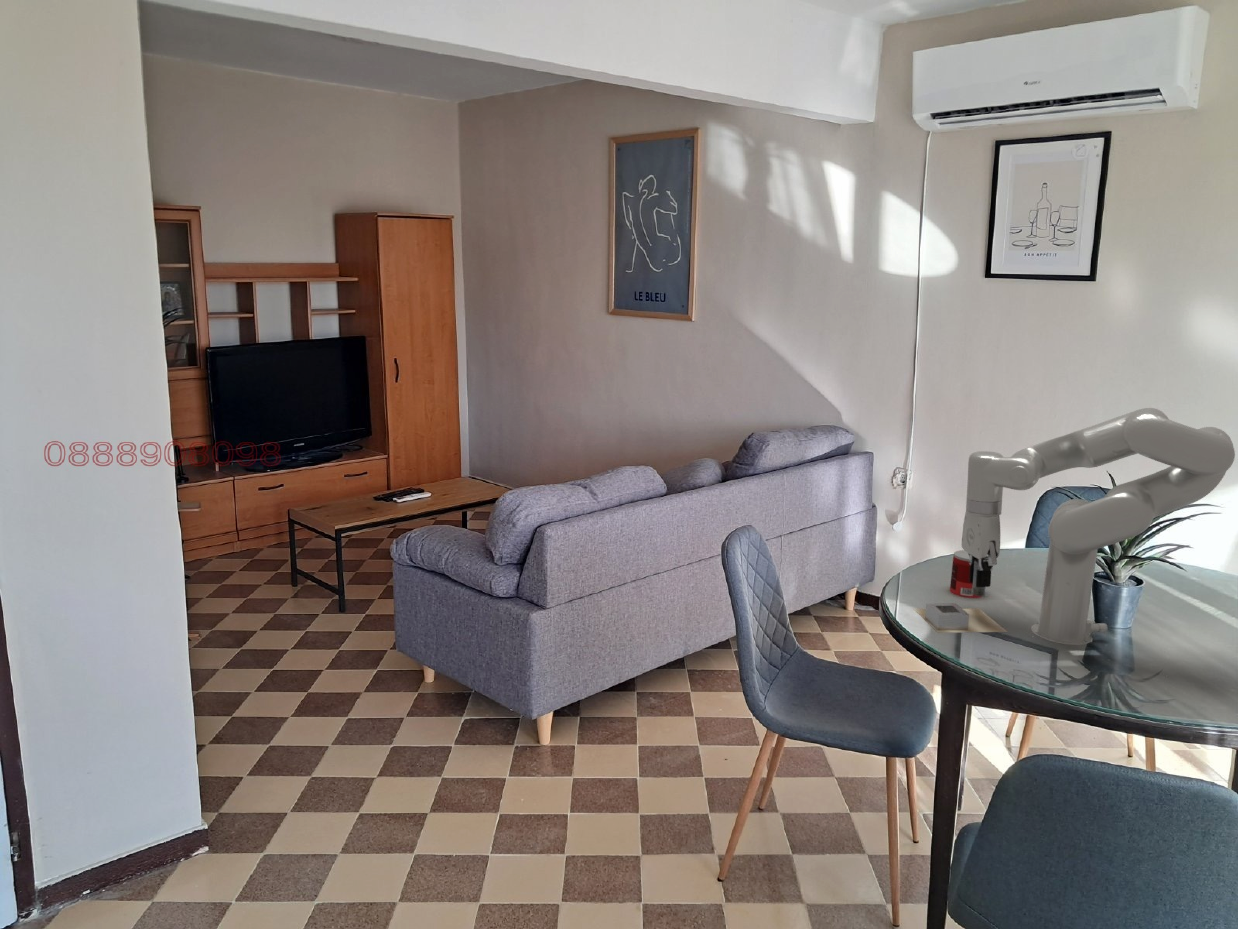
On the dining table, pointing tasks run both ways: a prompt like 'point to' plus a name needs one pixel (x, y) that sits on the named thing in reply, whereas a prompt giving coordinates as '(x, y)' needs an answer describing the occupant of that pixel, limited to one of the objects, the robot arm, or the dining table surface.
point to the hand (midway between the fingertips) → (979, 583)
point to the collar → (947, 616)
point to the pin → (975, 590)
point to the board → (971, 622)
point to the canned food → (961, 575)
